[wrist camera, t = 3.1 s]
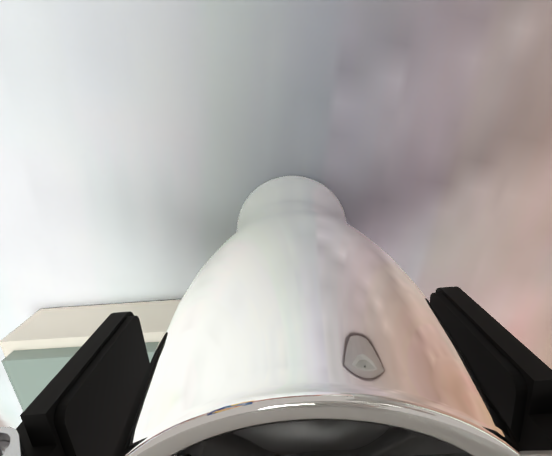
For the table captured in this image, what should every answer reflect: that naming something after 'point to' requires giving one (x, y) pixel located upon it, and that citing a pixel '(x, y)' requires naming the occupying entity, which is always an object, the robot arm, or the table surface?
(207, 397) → the beer glass
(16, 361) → the base
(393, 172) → the table surface
